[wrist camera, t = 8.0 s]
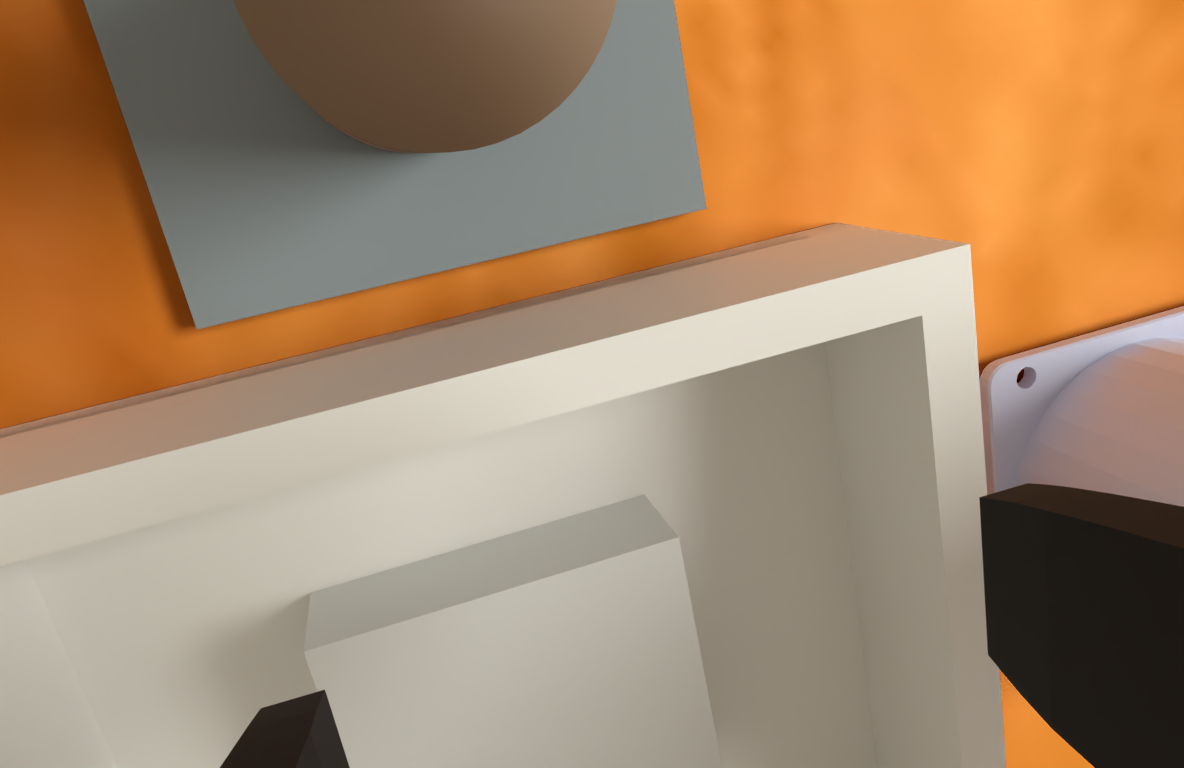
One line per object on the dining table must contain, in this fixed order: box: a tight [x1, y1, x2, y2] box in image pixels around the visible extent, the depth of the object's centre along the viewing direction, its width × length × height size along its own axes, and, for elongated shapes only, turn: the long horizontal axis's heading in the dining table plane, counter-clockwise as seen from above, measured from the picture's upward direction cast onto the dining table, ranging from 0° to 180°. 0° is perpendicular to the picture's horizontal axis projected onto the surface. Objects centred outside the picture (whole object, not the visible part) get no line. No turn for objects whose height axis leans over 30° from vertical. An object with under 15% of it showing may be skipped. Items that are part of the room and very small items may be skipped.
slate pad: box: [83, 0, 707, 329], centre depth 16 cm, size 10×9×1 cm
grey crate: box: [0, 223, 1006, 768], centre depth 18 cm, size 18×16×4 cm
